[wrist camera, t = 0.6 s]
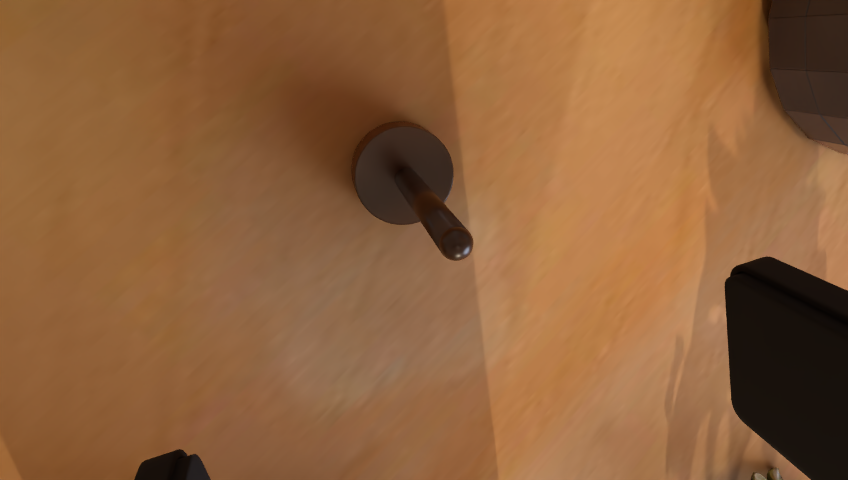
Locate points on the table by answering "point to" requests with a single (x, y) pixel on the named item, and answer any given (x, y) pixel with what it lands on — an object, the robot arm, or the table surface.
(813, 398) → the robot arm
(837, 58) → the bowl
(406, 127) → the plunger
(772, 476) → the passion flower
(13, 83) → the table surface
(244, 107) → the table surface
